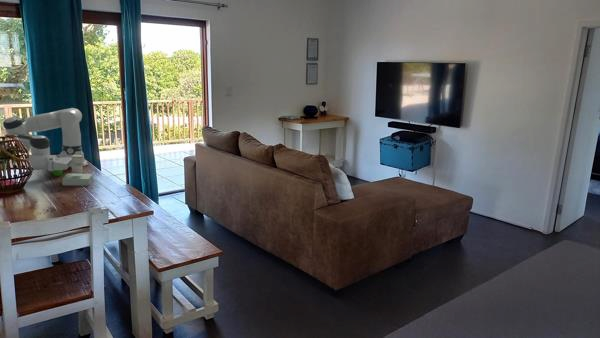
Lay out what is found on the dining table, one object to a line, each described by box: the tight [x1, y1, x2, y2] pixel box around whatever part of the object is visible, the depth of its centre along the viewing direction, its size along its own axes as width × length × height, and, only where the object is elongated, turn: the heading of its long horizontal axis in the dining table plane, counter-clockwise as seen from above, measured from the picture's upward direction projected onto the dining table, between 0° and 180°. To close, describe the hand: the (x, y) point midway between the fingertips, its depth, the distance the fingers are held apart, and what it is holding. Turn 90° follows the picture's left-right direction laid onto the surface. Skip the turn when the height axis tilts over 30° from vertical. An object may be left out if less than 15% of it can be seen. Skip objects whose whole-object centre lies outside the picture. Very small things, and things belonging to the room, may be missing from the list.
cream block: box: [71, 155, 84, 174], centre depth 256 cm, size 5×5×10 cm
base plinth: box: [61, 173, 94, 187], centre depth 258 cm, size 13×14×4 cm
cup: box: [51, 155, 64, 177], centre depth 271 cm, size 9×9×11 cm
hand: (79, 163), depth 256 cm, fingers closed on cream block, 5 cm apart
